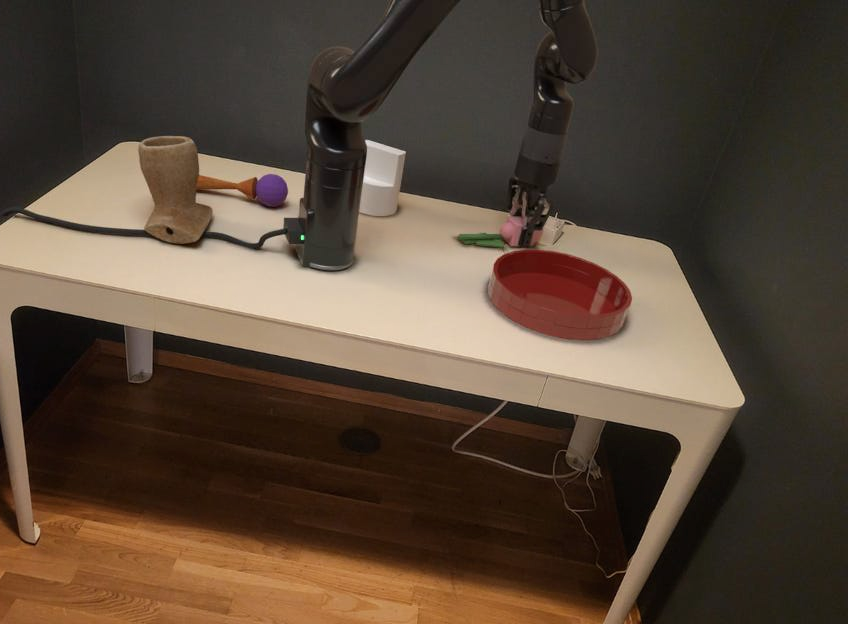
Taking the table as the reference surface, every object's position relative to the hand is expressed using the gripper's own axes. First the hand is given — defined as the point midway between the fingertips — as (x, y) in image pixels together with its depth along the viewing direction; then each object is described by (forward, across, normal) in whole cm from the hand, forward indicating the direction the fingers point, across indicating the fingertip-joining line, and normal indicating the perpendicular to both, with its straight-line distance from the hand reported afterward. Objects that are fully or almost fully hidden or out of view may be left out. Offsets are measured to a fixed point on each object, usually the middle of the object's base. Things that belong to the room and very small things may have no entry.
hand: (517, 240), depth 142 cm
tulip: (0, 0, -4) cm, 4 cm away
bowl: (0, +23, -4) cm, 23 cm away
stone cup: (0, -6, -63) cm, 63 cm away
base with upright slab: (+1, -16, -24) cm, 29 cm away
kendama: (0, -19, -51) cm, 55 cm away
